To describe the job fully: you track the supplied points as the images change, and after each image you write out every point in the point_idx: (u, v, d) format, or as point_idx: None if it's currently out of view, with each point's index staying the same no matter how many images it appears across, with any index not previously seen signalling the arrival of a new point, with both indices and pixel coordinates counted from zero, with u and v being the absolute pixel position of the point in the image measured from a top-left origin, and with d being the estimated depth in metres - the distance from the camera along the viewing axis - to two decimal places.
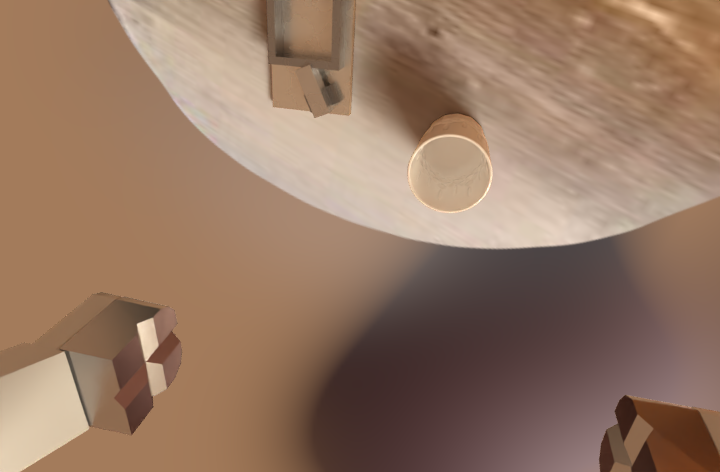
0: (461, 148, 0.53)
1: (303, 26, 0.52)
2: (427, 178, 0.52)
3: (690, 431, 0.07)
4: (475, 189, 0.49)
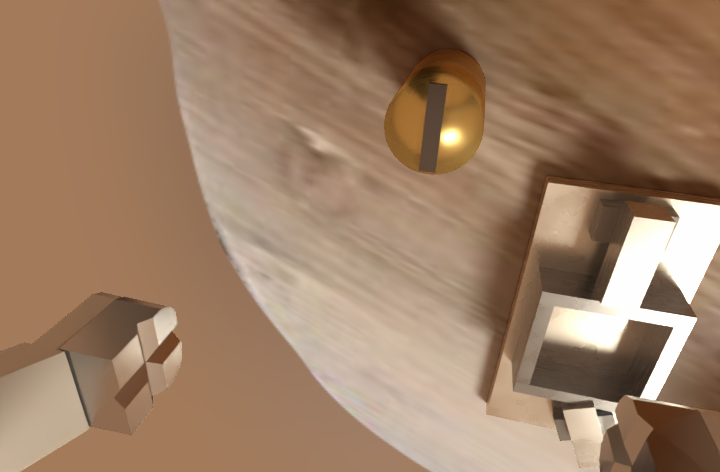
0: None
1: (574, 329, 0.30)
2: None
3: (690, 431, 0.07)
4: None
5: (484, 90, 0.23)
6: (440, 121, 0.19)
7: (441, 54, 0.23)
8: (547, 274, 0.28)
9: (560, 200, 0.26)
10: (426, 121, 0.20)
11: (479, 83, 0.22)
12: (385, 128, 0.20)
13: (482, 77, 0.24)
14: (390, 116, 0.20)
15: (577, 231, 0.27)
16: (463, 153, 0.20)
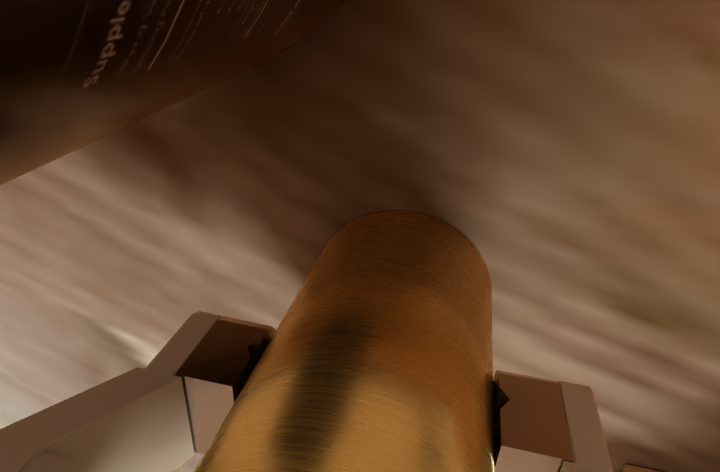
0: None
1: None
2: None
3: (545, 402, 0.07)
4: None
5: (491, 354, 0.09)
6: None
7: (376, 248, 0.09)
8: None
9: None
10: None
11: (477, 376, 0.07)
12: None
13: (484, 299, 0.09)
14: None
15: None
16: None
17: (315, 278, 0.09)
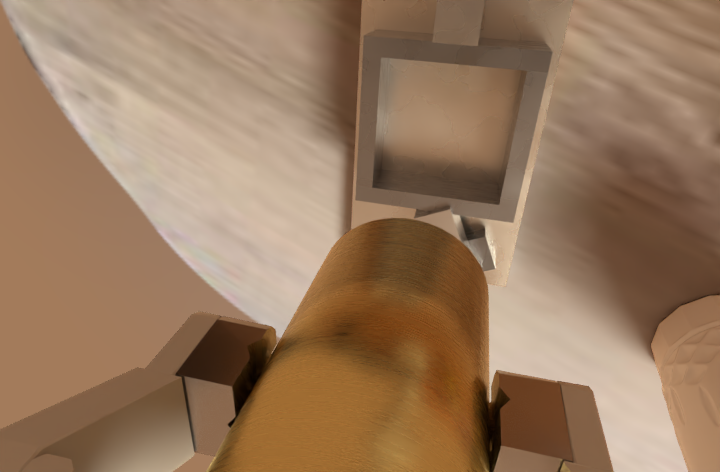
0: None
1: (429, 121, 0.24)
2: None
3: (545, 402, 0.07)
4: None
5: (486, 351, 0.09)
6: None
7: (375, 254, 0.09)
8: (381, 31, 0.22)
9: None
10: None
11: (471, 371, 0.08)
12: None
13: (480, 299, 0.10)
14: None
15: None
16: None
17: (318, 284, 0.09)
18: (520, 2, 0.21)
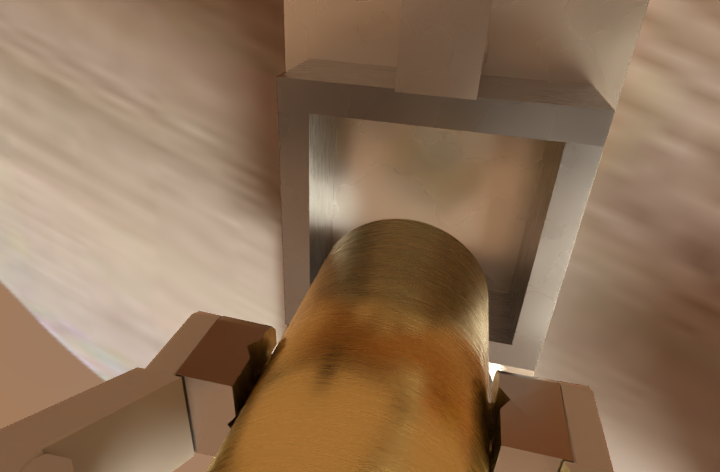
0: None
1: (401, 200, 0.15)
2: None
3: (545, 402, 0.07)
4: None
5: (486, 352, 0.09)
6: None
7: (375, 255, 0.09)
8: (315, 64, 0.13)
9: None
10: None
11: (471, 371, 0.08)
12: None
13: (479, 300, 0.10)
14: None
15: None
16: None
17: (318, 285, 0.09)
18: (550, 16, 0.12)
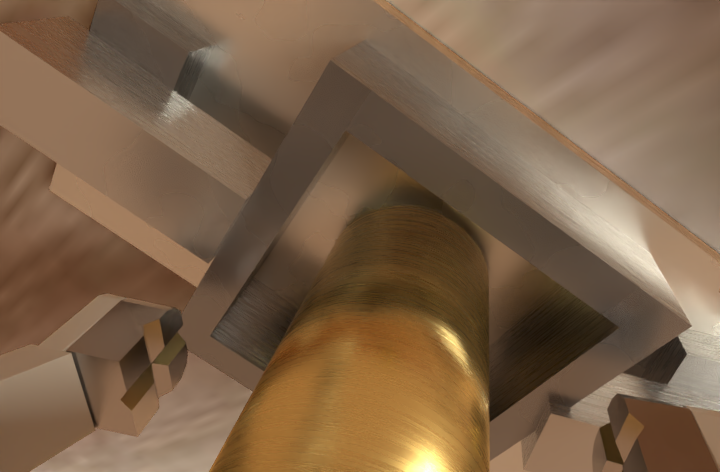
0: None
1: None
2: None
3: (681, 429, 0.07)
4: None
5: (486, 330, 0.10)
6: None
7: (381, 240, 0.10)
8: None
9: (85, 186, 0.13)
10: None
11: (472, 345, 0.08)
12: None
13: (480, 282, 0.10)
14: None
15: None
16: None
17: (328, 268, 0.10)
18: (271, 54, 0.10)
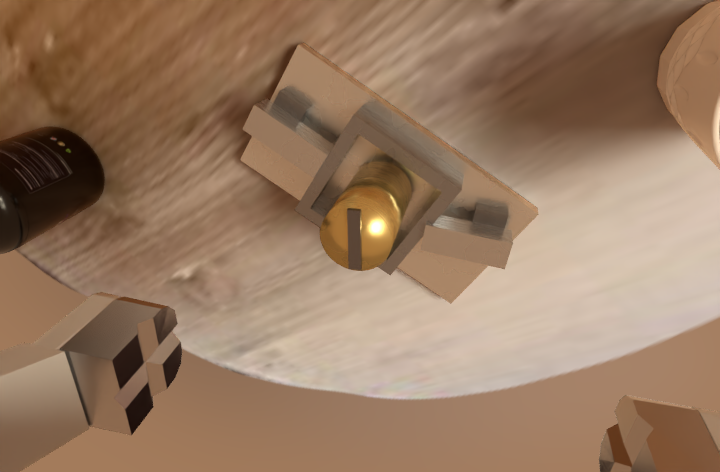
0: None
1: None
2: None
3: (690, 431, 0.07)
4: None
5: (404, 197, 0.30)
6: (359, 235, 0.26)
7: (370, 169, 0.30)
8: None
9: (256, 158, 0.34)
10: (349, 234, 0.26)
11: (396, 196, 0.28)
12: (321, 239, 0.27)
13: (404, 184, 0.31)
14: (323, 230, 0.27)
15: (285, 157, 0.33)
16: (380, 255, 0.27)
17: (352, 179, 0.30)
18: (332, 108, 0.31)
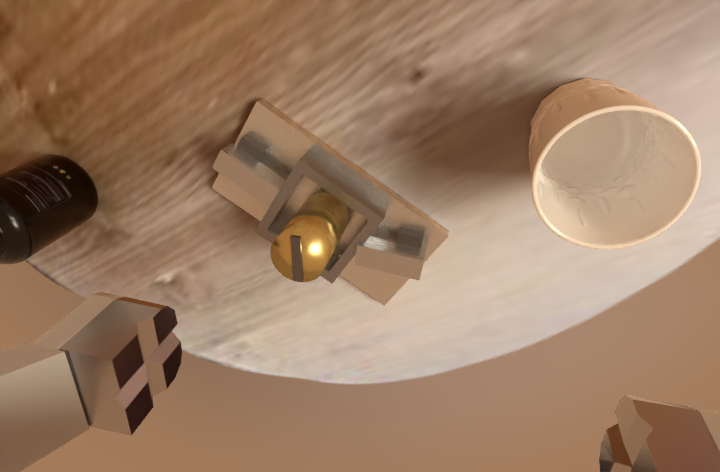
0: (594, 125, 0.32)
1: None
2: (599, 203, 0.31)
3: (690, 431, 0.07)
4: (673, 149, 0.26)
5: (340, 223, 0.38)
6: (300, 255, 0.34)
7: (314, 200, 0.38)
8: None
9: (224, 187, 0.41)
10: (292, 255, 0.34)
11: (332, 223, 0.36)
12: (271, 257, 0.35)
13: (341, 212, 0.38)
14: (273, 251, 0.35)
15: None
16: (316, 271, 0.35)
17: (300, 208, 0.38)
18: (284, 151, 0.38)
